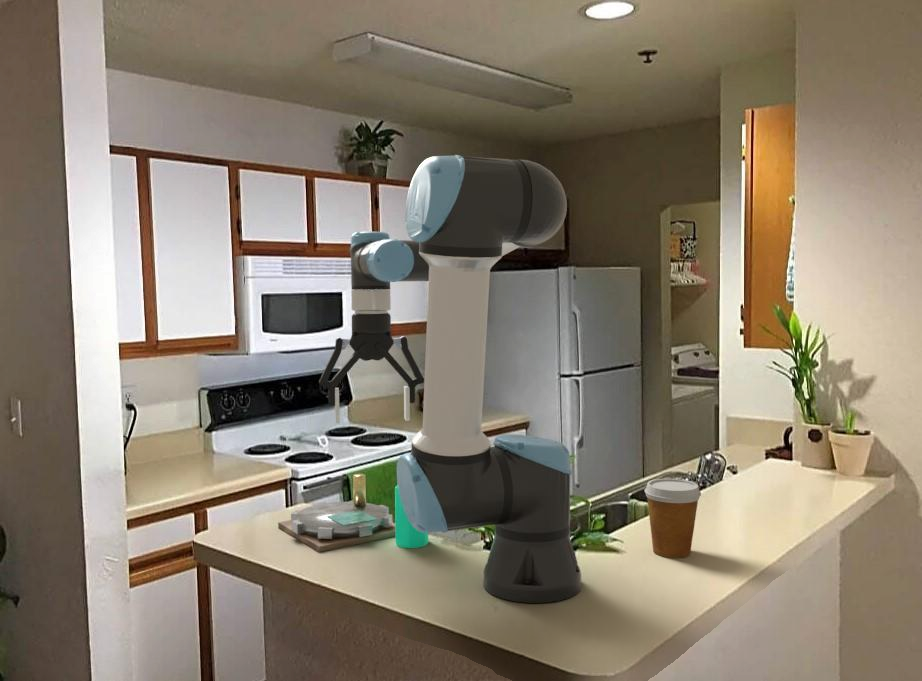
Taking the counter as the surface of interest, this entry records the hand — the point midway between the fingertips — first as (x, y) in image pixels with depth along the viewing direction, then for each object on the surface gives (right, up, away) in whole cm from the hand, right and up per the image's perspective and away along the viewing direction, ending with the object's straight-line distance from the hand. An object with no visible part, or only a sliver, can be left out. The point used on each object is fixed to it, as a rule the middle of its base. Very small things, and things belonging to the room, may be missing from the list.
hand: (372, 421), depth 163 cm
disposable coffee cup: (+54, -21, -17) cm, 61 cm away
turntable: (-5, -19, -4) cm, 20 cm away
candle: (+8, -21, -12) cm, 26 cm away
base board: (-5, -20, -4) cm, 21 cm away
